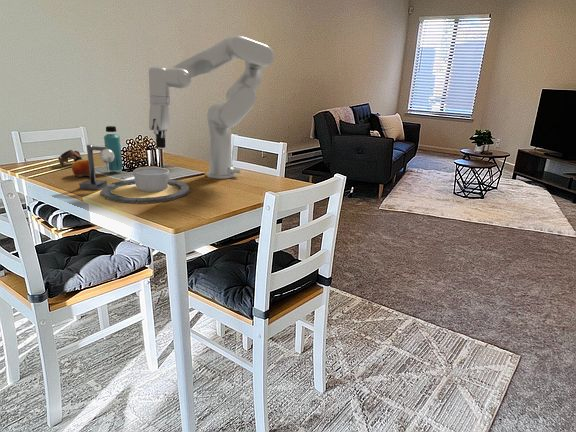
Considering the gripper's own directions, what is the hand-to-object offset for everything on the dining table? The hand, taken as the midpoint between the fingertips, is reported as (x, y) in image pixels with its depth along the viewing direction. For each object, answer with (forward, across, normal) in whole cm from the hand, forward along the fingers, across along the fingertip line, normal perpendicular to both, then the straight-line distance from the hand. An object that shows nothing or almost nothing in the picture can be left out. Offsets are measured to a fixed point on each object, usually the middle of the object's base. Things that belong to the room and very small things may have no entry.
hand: (160, 147), depth 168 cm
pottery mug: (+15, -15, -48) cm, 53 cm away
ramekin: (+14, +11, +1) cm, 18 cm away
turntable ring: (+14, +16, +1) cm, 22 cm away
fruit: (+15, +1, -33) cm, 36 cm away
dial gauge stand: (+14, +16, -17) cm, 28 cm away
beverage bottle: (+14, -8, -24) cm, 29 cm away
